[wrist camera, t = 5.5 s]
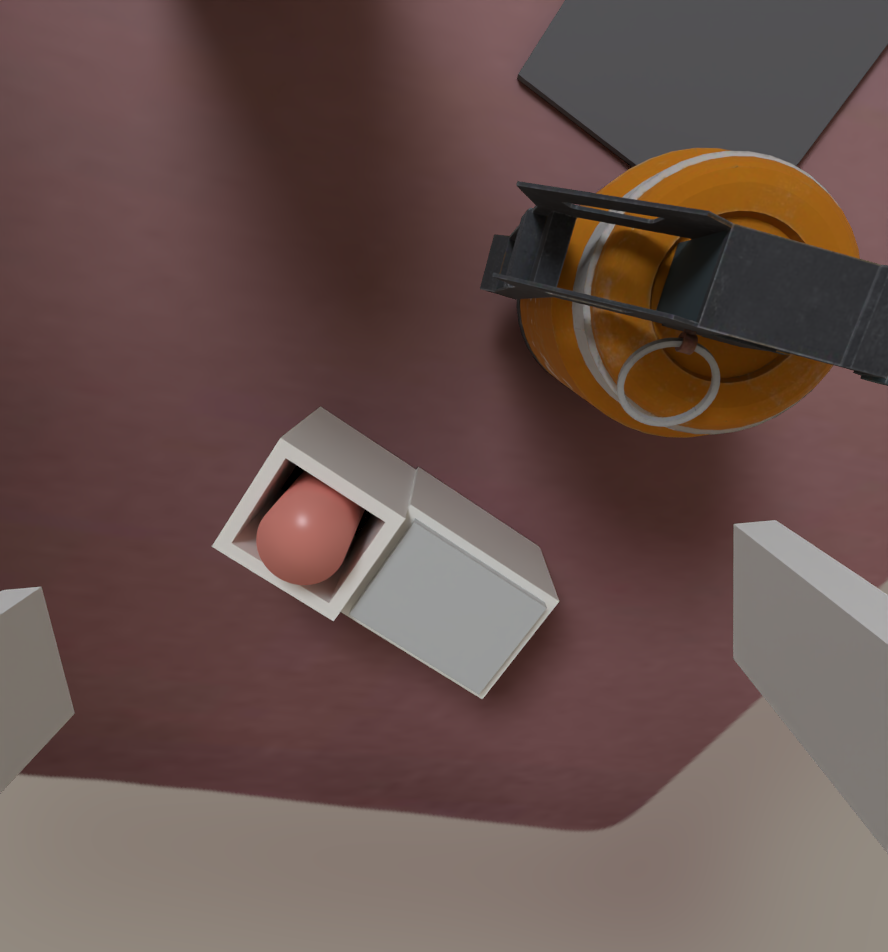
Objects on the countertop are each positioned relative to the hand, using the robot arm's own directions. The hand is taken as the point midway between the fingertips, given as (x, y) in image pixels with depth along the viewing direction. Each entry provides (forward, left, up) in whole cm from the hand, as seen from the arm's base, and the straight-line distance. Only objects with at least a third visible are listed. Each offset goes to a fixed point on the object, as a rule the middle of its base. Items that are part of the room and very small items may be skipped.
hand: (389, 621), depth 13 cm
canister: (+3, +10, -24) cm, 26 cm away
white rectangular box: (+2, -5, -23) cm, 24 cm away
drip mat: (+1, +22, -23) cm, 32 cm away
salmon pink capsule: (-2, -6, -22) cm, 22 cm away
